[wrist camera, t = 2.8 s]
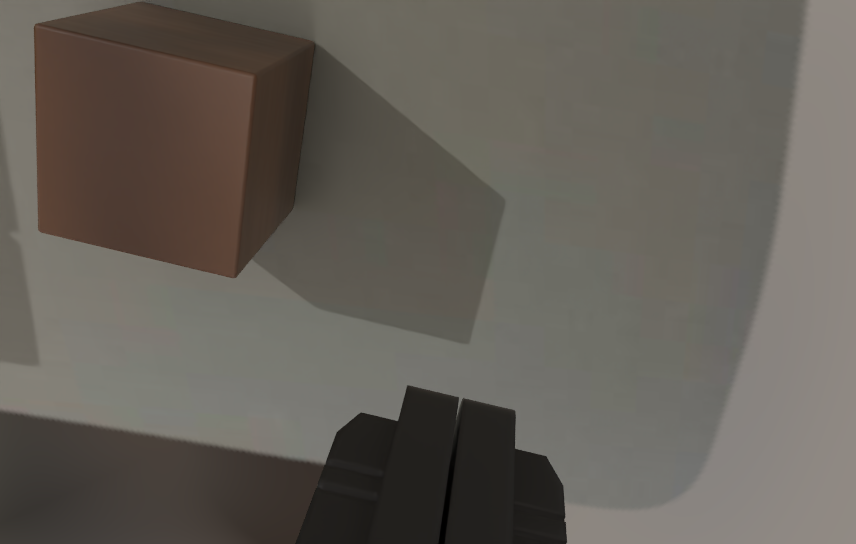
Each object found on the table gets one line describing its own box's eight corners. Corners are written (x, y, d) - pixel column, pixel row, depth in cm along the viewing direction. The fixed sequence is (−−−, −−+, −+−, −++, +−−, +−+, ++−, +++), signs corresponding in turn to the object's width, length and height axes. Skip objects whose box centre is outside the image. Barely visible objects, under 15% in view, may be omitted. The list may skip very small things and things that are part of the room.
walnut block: (316, 41, 21) (257, 75, 17) (293, 209, 23) (235, 280, 19) (138, 0, 21) (32, 22, 17) (132, 171, 23) (36, 232, 19)
